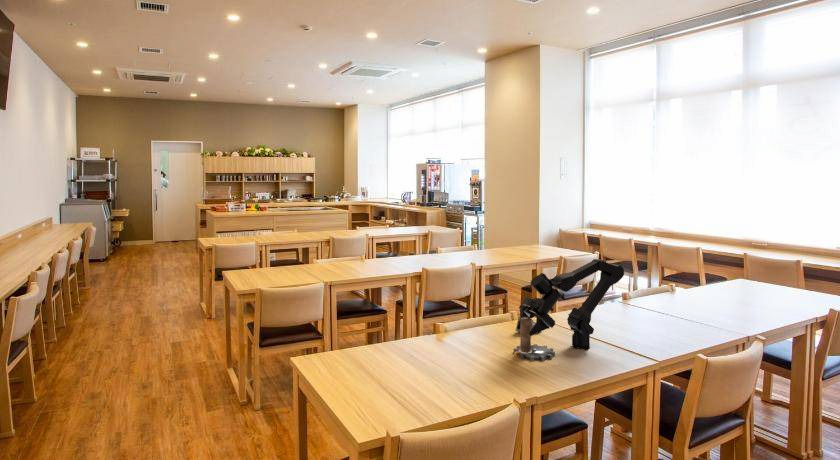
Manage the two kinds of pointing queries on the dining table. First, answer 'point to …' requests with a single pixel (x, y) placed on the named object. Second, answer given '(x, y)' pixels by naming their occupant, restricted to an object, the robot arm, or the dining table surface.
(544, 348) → the sprocket plate
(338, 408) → the dining table surface
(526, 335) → the brown cylinder
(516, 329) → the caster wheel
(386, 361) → the dining table surface
